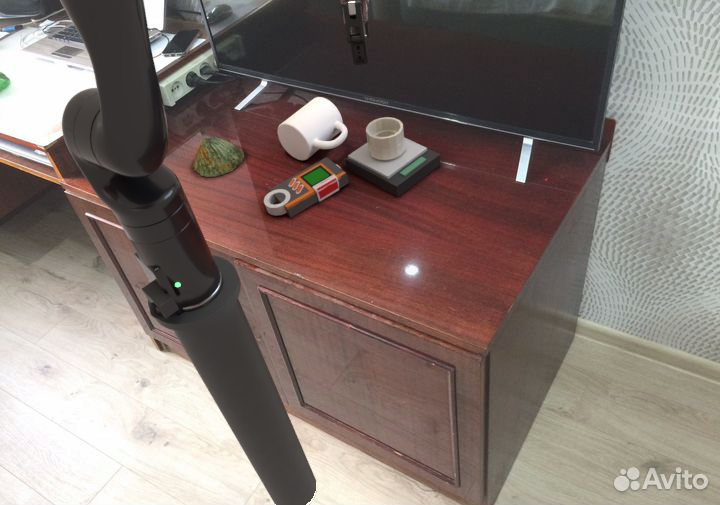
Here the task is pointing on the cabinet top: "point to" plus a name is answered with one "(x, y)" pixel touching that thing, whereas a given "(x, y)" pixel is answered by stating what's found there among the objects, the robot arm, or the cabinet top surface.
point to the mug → (312, 129)
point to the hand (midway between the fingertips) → (361, 50)
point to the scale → (394, 167)
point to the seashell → (216, 157)
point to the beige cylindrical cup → (385, 138)
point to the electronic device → (306, 188)
